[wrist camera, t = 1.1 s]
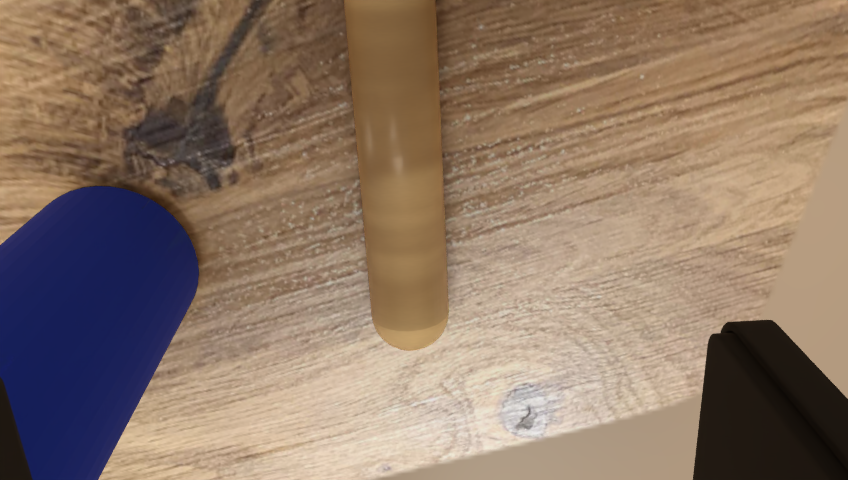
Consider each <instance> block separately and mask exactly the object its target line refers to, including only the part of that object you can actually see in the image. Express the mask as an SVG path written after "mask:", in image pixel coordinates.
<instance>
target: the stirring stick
mask: <svg viewBox="0 0 848 480" xmlns="http://www.w3.org/2000/svg"><path fill="white" fill-rule="evenodd" d="M344 7H345V18H346V29H347V41H348V52H349V63H350V75H351V86H352V97H353V109H354V120H355V131H356V143H357V154H358V165H359V177H360V188H361V199H362V211H363V222H364V233H365V245H366V256H367V267H368V279H369V290H370V301H371V313H372V319H373V324H374V326H375V328H376V331H377V332H378V334H379V335H380V336H381V338H382V339H383V340H384V341H386V342H387V343H388V344H389V345H391V346H393V347H396V348H398V349H401V350H408V351H412V350H419V349H422V348H425V347H427V346H429V345H431V344H432V343H434V342H435V341H436V340H437V339H438V338H439V337H440V336H441V334H442V333H443V331H444V329H445V327H446V325H447V321H448V313H449V304H448V280H447V257H446V233H445V210H444V186H443V162H442V139H441V115H440V92H439V68H438V45H437V21H436V0H344Z"/></svg>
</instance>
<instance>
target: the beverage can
mask: <svg viewBox="0 0 848 480" xmlns="http://www.w3.org/2000/svg"><path fill="white" fill-rule="evenodd" d="M198 277H199V269H198V260H197V256H196V252H195V249H194V247H193V244H192V242H191V240H190V238H189V236H188V234H187V233H186V231H185V230H184V228H183V227H182V225H181V224H180V223H179V222H178V221H177V220H176V219H175V217H174V216H173V215H171V214H170V213H169V212H168V211H167V210H166V209H164V208H163V207H162V206H160V205H159V204H157V203H156V202H154V201H153V200H151V199H149V198H147V197H145V196H143V195H141V194H139V193H136V192H133V191H130V190H126V189H122V188H116V187H111V186H93V187H84V188H80V189H76V190H73V191H70V192H68V193H66V194H63V195H61V196H59V197H58V198H56V199H55V200H53V201H52V202H51V203H49V204H48V205H47V206H46V207H44V208H43V209H42V210H41V211H40V212H39V213H37V214H36V215H35V216H34V217H33V218H31V219H30V220H29V221H28V222H27V223H26V224H24V225H23V226H22V227H21V228H20V229H19V230H17V231H16V232H15V233H14V234H13V235H12V236H10V237H9V238H8V239H7V240H6V241H4V242H3V243H2V244H1V245H0V377H1V379H2V380H3V382H4V385H5V388H6V391H7V395H8V398H9V401H10V405H11V408H12V412H13V415H14V418H15V422H16V425H17V428H18V432H19V435H20V439H21V442H22V445H23V449H24V452H25V456H26V459H27V462H28V466H29V469H30V472H31V476H32V479H33V480H98V479H99V477H100V475H101V473H102V471H103V469H104V467H105V465H106V464H107V462H108V460H109V458H110V456H111V454H112V452H113V450H114V448H115V446H116V445H117V443H118V441H119V439H120V437H121V435H122V433H123V431H124V429H125V427H126V426H127V424H128V422H129V420H130V418H131V416H132V414H133V412H134V410H135V409H136V407H137V405H138V403H139V401H140V399H141V397H142V395H143V393H144V391H145V390H146V388H147V386H148V384H149V382H150V380H151V378H152V376H153V374H154V372H155V371H156V369H157V367H158V365H159V363H160V361H161V359H162V357H163V355H164V354H165V352H166V350H167V348H168V346H169V344H170V342H171V340H172V338H173V336H174V335H175V333H176V331H177V329H178V327H179V325H180V323H181V321H182V319H183V318H184V316H185V314H186V312H187V310H188V308H189V306H190V304H191V302H192V300H193V298H194V296H195V293H196V289H197V286H198Z"/></svg>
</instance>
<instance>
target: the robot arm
mask: <svg viewBox="0 0 848 480" xmlns="http://www.w3.org/2000/svg"><path fill="white" fill-rule="evenodd" d="M0 480H33V479H32V476H31V472H30V469H29V466H28V462H27V459H26V456H25V452H24V449H23V445H22V442H21V439H20V435H19V432H18V428H17V425H16V422H15V418H14V415H13V412H12V408H11V405H10V401H9V398H8V395H7V391H6V388H5V385H4V382H3V380H2V379H1V377H0ZM693 480H848V399H847V398H846V397H845V396H844V395H843V394H842V393H841V392H840V390H839V389H838V388H837V387H836V386H835V385H834V384H833V383H832V382H831V381H830V380H829V379H828V378H827V377H826V376H825V375H824V374H823V373H822V371H821V370H820V369H819V368H818V367H817V366H816V365H815V364H814V363H813V362H812V361H811V360H810V359H809V358H808V357H807V355H806V354H805V353H804V352H803V351H802V350H801V349H800V348H799V347H798V346H797V345H796V344H795V343H794V342H793V341H792V340H791V339H790V338H789V336H788V335H787V334H786V333H785V332H784V331H783V330H782V329H781V328H780V327H779V326H778V325H777V324H776V323H775V322H773V321H772V320H758V321H740V322H727V323H726V324H725V325H724V326H723V328H722V330H721V333H719V334H712V335H711V336H710V339H709V342H708V348H707V357H706V366H705V375H704V384H703V393H702V402H701V411H700V420H699V430H698V438H697V448H696V457H695V466H694V475H693Z"/></svg>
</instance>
